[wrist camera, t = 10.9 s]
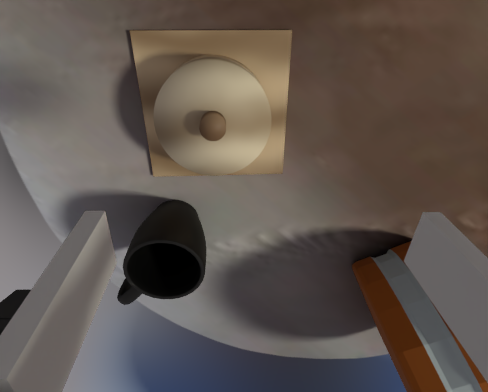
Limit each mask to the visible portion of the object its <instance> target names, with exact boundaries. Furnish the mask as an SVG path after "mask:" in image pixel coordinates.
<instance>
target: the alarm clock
mask: <svg viewBox="0 0 488 392" xmlns="http://www.w3.org/2000/svg"><path fill="white" fill-rule="evenodd" d="M410 244H411V241H410V242H407V243H405V244H402V245H399V246H397V247H394V248H391V249H389V250H388V251H387V253H386V254H384V255H381V256H379V257H376V258H374V257H367V258H365V259H362V260H359V261H357V262H355V263H354V264H353V265H352V270H353V272H354V274H355V277H356V279H357V281H358V284H359V286H360V289H361V291H362V293H363V296H364V298H365V300H366V303H367V305H368V308H369V310H370V312H371V315H372V317H373V319H374V322H375V324H376V326H377V328H378V330H379V333H380V335H381V337H382V339H383V341H384V343H385V346H386V348H387V350H388V352H389V354H390V356H391V359H392V361H393V363H394V365H395V367H396V369H397V371H398V374H399V375H400V378H401V380H402V382H403V384H404V386H405V388H406V391H407V392H488V383H487V381H486V380H485V378H484V377H483V376H482V374H481V373H480V371H479V370H478V368H477V367H476V365H475V364H474V362H473V361H472V360H471V358H470V357H469V355H468V354H467V352H466V351H465V349H464V348H463V346H462V345H461V344H460V342H459V341H458V339H457V338H456V336H455V335H454V333H453V332H452V330H451V329H450V328H449V326H448V325H447V323H446V322H445V320H444V319H443V317H442V316H441V314H440V313H439V312H438V310H437V309H436V307H435V306H434V304H433V303H432V301H431V300H430V299H429V297H428V296H427V294H426V293H425V291H424V290H423V288H422V287H421V285H420V284H419V283H418V281H417V280H416V278H415V277H414V275H413V274H412V272H411V271H410V269H409V268H408V267H407V265H406V264H405V262H404V259H405V257H406V254H407V251H408V249H409V246H410Z"/></svg>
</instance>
